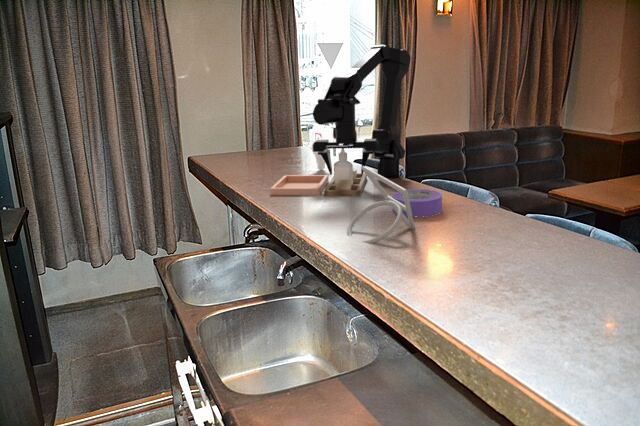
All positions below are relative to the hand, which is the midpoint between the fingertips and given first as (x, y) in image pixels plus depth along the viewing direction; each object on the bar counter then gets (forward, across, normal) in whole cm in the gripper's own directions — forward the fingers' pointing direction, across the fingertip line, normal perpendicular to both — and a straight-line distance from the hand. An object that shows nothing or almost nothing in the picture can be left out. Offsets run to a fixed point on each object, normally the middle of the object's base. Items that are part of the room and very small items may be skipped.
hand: (346, 174), depth 155 cm
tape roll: (+5, -20, +27) cm, 34 cm away
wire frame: (+7, -15, +44) cm, 47 cm away
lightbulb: (+4, +12, -27) cm, 30 cm away
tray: (+4, +14, +2) cm, 14 cm away
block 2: (+4, 0, -8) cm, 9 cm away
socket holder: (+4, 0, 0) cm, 4 cm away
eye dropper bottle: (+4, +1, +1) cm, 5 cm away
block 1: (+4, 0, +8) cm, 9 cm away
